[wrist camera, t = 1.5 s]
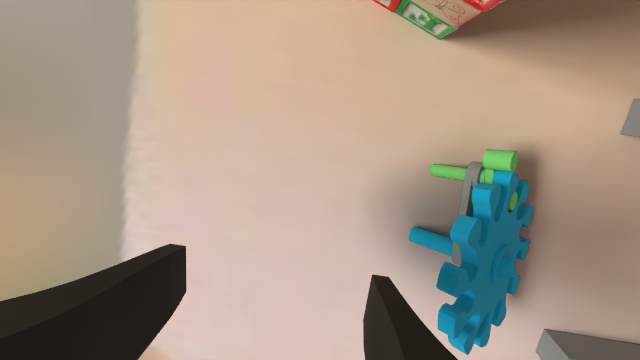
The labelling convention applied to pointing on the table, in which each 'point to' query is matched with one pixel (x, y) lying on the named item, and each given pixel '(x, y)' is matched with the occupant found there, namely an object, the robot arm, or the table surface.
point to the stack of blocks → (439, 13)
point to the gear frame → (583, 351)
